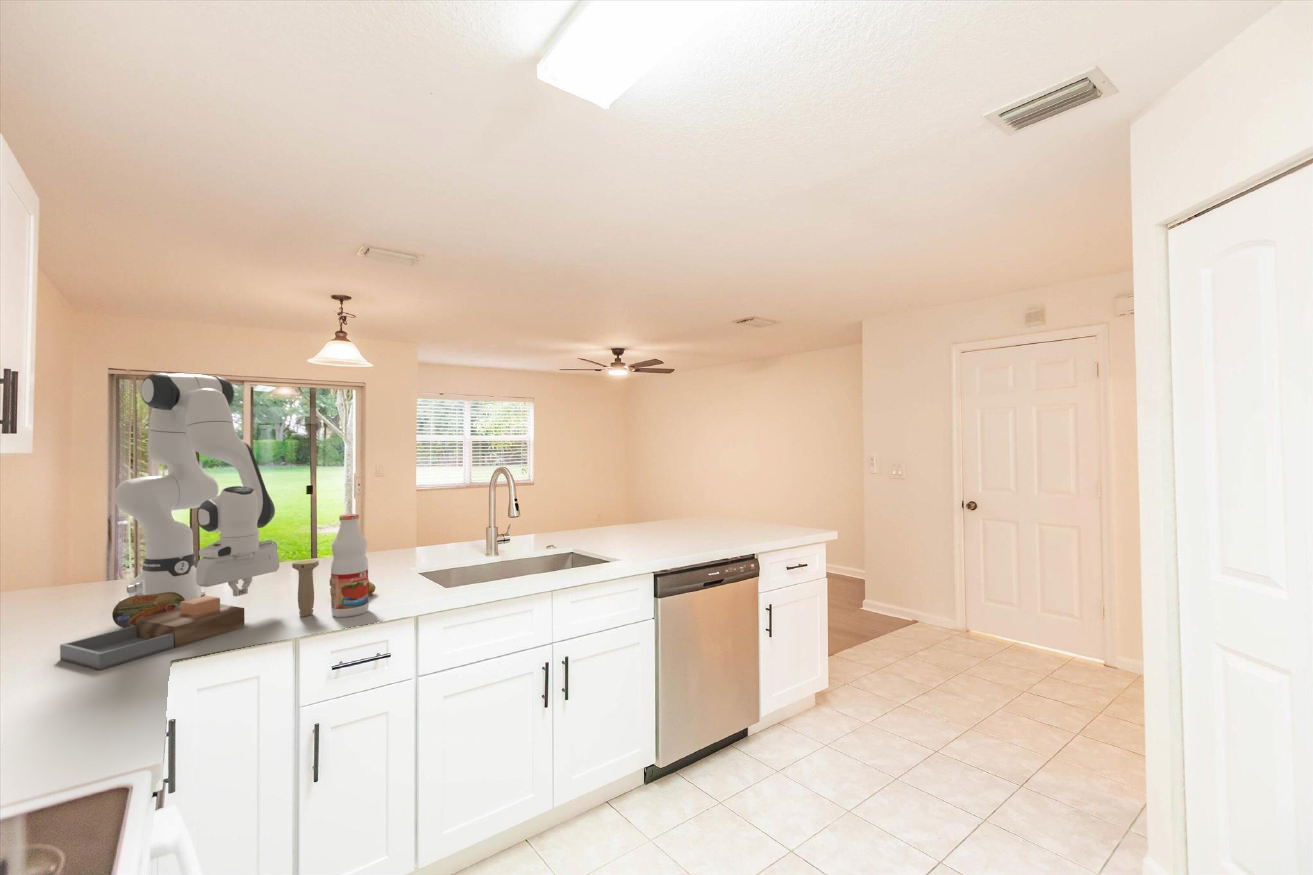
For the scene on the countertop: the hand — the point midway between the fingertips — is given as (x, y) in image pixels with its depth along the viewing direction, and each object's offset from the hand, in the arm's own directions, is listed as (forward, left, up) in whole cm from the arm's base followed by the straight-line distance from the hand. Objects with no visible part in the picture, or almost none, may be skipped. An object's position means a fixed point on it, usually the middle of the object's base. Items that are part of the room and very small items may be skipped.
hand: (240, 595), depth 160 cm
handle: (+14, +9, -7) cm, 18 cm away
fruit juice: (+24, +15, -7) cm, 29 cm away
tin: (-18, -12, -7) cm, 23 cm away
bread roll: (+11, +27, -7) cm, 30 cm away
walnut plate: (0, -12, -7) cm, 14 cm away
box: (0, -27, -7) cm, 28 cm away
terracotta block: (0, -10, -2) cm, 10 cm away
